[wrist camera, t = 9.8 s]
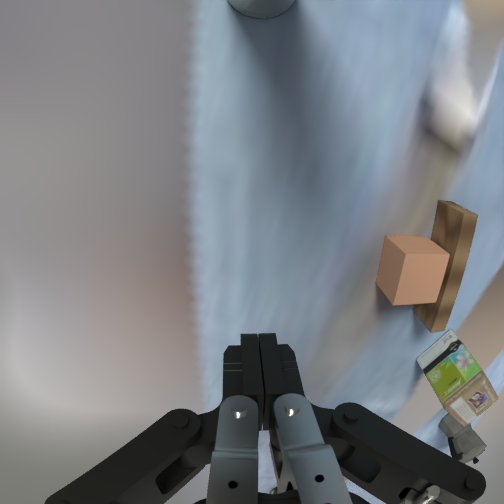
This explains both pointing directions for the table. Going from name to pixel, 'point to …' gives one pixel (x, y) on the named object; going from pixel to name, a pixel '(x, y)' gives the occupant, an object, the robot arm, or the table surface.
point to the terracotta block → (411, 270)
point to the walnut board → (449, 261)
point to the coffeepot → (462, 440)
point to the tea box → (457, 379)
